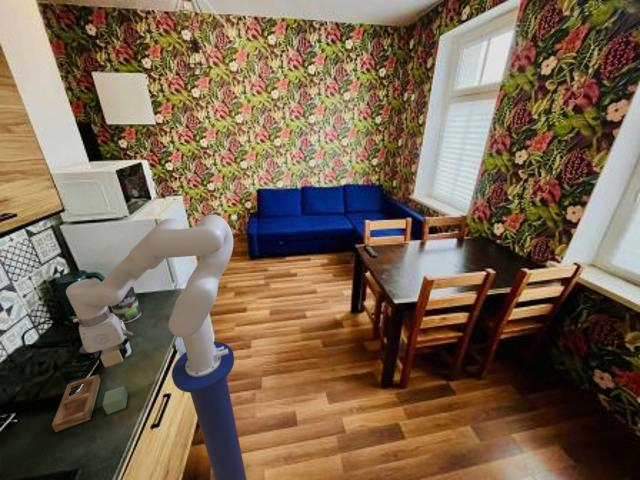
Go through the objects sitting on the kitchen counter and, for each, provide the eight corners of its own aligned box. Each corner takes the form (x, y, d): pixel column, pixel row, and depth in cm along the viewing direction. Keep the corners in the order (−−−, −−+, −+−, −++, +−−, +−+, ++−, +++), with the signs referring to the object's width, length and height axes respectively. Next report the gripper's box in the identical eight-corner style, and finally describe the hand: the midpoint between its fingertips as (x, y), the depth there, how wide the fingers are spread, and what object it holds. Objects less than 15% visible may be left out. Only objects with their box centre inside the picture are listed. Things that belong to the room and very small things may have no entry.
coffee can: (145, 314, 130) (138, 289, 124) (122, 326, 122) (113, 301, 116) (135, 307, 135) (127, 283, 129) (112, 318, 126) (102, 293, 121)
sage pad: (127, 395, 90) (123, 385, 89) (125, 407, 86) (121, 398, 85) (109, 401, 88) (105, 392, 87) (106, 414, 84) (102, 405, 83)
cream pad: (124, 351, 95) (120, 341, 93) (122, 361, 91) (118, 351, 89) (107, 357, 93) (103, 347, 91) (104, 367, 89) (100, 357, 87)
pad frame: (100, 380, 96) (97, 374, 94) (90, 419, 83) (86, 412, 82) (71, 390, 92) (67, 384, 91) (55, 432, 79) (51, 425, 78)
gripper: (56, 333, 78) (80, 377, 85) (125, 314, 85) (142, 356, 92) (64, 318, 84) (86, 360, 91) (128, 302, 91) (144, 342, 98)
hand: (114, 358), depth 91 cm, fingers closed on cream pad, 5 cm apart
